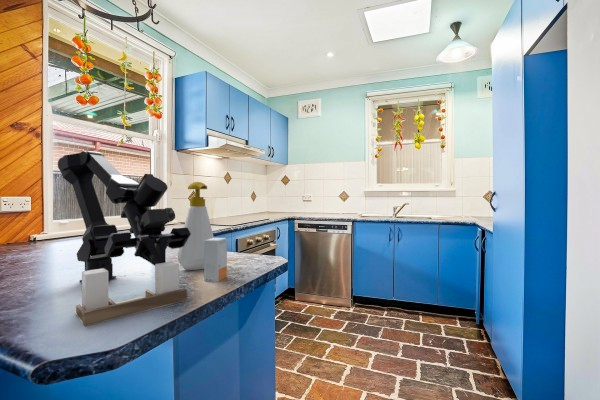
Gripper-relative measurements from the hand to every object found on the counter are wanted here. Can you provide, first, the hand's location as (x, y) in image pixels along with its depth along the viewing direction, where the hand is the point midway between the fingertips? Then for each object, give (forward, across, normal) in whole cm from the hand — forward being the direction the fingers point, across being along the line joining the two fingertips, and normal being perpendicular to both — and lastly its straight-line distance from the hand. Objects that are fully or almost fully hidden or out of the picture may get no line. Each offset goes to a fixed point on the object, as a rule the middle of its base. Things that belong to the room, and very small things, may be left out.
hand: (163, 268), depth 69 cm
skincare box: (+3, +17, +8) cm, 19 cm away
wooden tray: (+5, -7, +5) cm, 10 cm away
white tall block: (+3, -13, +6) cm, 15 cm away
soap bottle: (-8, +22, +18) cm, 29 cm away
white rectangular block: (+6, 0, +3) cm, 7 cm away
